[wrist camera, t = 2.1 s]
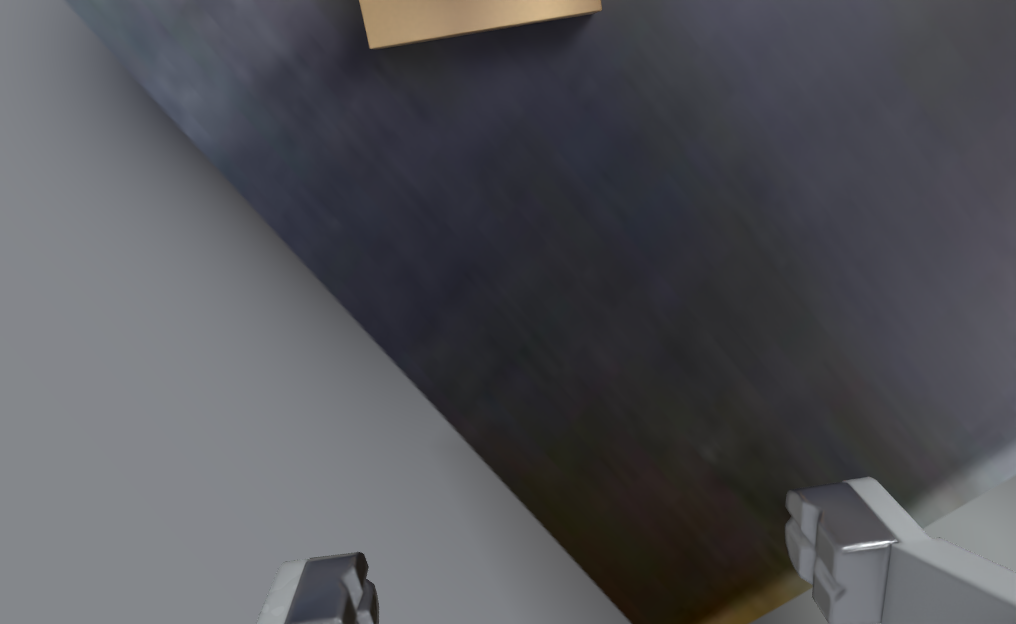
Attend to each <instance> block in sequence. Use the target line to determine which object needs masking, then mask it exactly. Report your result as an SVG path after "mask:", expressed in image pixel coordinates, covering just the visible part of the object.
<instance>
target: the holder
mask: <svg viewBox="0 0 1016 624" xmlns="http://www.w3.org/2000/svg"><path fill="white" fill-rule="evenodd" d="M359 2H360V7H361V11H362V16H363V20H364V25H365V29H366V34H367V38H368V43H369V47H370V49H383V48H389V47H395V46H401V45H407V44H414V43H420V42H426V41H432V40H438V39H444V38H450V37H456V36H462V35H468V34H474V33H480V32H486V31H492V30H498V29H504V28H510V27H516V26H522V25H528V24H534V23H540V22H546V21H552V20H558V19H565V18H571V17H577V16H583V15H589V14H594V13H597V12H599V11H601V10H602V5H601V0H359Z"/></svg>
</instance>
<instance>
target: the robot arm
mask: <svg viewBox="0 0 1016 624" xmlns="http://www.w3.org/2000/svg"><path fill="white" fill-rule="evenodd" d="M786 508H787V509H788V511H789V512H790V514H791V515H792V517H791V518H790V520H789V521H788V522H787V523H786V525H785V541H786V546H787V550H788V554H789V557H790V559H791V561H792V564H793V566H794V568H795V569H796V571H797V573H798V575H799V576H800V577H801V578H802V579H804V580H806V581H807V582H809V583H811V584H812V585H813V593H812V597H813V599H814V601H815V602H816V604H817V606H818V607H819V609H820V610H821V612H822V614H823V615H824V617H825V619H826V620H827V622H828V623H829V624H880V623H882V624H1016V572H1015V571H1013V570H1010V569H1008V568H1006V567H1004V566H1002V565H999V564H997V563H995V562H993V561H991V560H988V559H986V558H984V557H982V556H980V555H977V554H975V553H973V552H971V551H968V550H966V549H964V548H962V547H960V546H957V545H955V544H953V543H951V542H949V541H947V540H944V539H942V538H932V539H931V538H930V536H929V535H928V534H927V533H926V532H925V531H924V530H923V529H922V528H921V527H920V526H919V525H918V524H917V523H916V522H915V521H914V520H913V519H912V517H911V516H910V515H909V514H908V513H907V512H906V511H905V510H904V509H903V508H902V507H901V506H900V505H899V504H898V503H897V502H896V501H895V499H894V498H893V497H892V496H891V495H890V494H889V493H888V492H887V491H886V490H885V489H884V488H883V487H882V486H881V485H880V484H879V483H878V482H877V481H876V480H875V479H873V478H871V477H865V478H859V479H853V480H847V481H842V482H836V483H830V484H823V485H817V486H810V487H803V488H797V489H790V490H789V491H788V493H787V495H786ZM367 571H368V564H367V561H366V558H365V556H364V554H363V553H360V552H356V553H348V554H340V555H331V556H323V557H315V558H310V559H304V560H294V561H286V562H284V563H283V564H282V565H281V566H280V567H279V568H278V571H277V573H276V576H275V578H274V581H273V583H272V585H271V588H270V590H269V593H268V595H267V598H266V600H265V603H264V605H263V608H262V610H261V612H260V615H259V618H258V620H257V622H256V624H379V603H378V597H377V592H376V589H375V585H374V584H373V583H372V582H370V581H369V580H368V579H366V576H367Z"/></svg>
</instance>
